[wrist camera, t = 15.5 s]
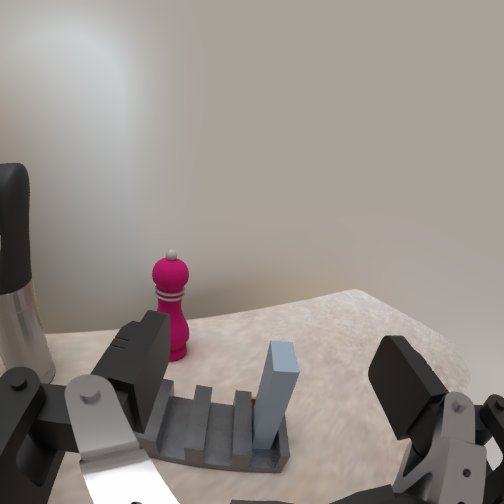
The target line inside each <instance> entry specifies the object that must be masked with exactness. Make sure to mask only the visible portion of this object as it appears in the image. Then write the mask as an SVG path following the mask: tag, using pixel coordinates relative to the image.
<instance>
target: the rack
mask: <svg viewBox="0 0 504 504" xmlns="http://www.w3.org/2000/svg"><path fill="white" fill-rule="evenodd" d="M211 395H212V387H206V386H200V385H197V386H196V390H195V395H194V400H191V399H186V398H180V397H175V396H174V381H171V380H166V379H163V380H162V383H161V385H160V388H159V391H158V394H157V397H156V400H155V403H154V406H153V409H152V412H151V415H150V418H149V421H148V424H147V427H146V430H145V433H144V434H142V433H138V432H135V431H134V432H133V433H134V435H135V437H136V439H137V441H138V443H139V445H140V446H141V447H143V448H144V450H145V451H146V453H147V455H148V456H149V457H151V458H155V459H159V460H164V461H168V462H173V463H178V464H184V465H189V466H195V467H202V468H209V469H218V470H227V471H239V472H259V473H281V471H282V469H283V468H284V466H285V464H286V463H287V461H288V459H289V457H290V452H289V444H288V436H287V428H286V420H285V414H284V416H283V419H282V421H281V424H280V426H279V429H278V431H277V434H276V436H275V438H274V441H273V443H272V445H271V448H270V449H252V414H253V410H254V406H255V402H256V398H257V397H251V392H247V391H237V390H236V392H235V397H234V403H233V405H226V404H218V403H211Z"/></svg>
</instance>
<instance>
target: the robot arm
mask: <svg viewBox="0 0 504 504" xmlns="http://www.w3.org/2000/svg"><path fill="white" fill-rule="evenodd" d="M29 190H30V186H29V176H28V172H27V170H26V168H25V166H24V165H23V164H20V163H6V164H0V235H1V250H0V355H1V358H2V360H3V362H4V365H5V367H6V369H7V371H6V372H5V373H4V374H3V375H2V377H1V378H0V504H47V502H48V499H49V496H50V493H51V490H52V487H53V484H54V481H55V478H56V476H57V473H58V470H59V468H60V465H61V462H62V460H63V457H64V455H65V452H66V451H68V452H76V453H80V455H81V460H80V462H79V463H80V468H81V471H82V474H83V477H84V479H85V482H86V484H87V487H88V489H89V492H90V494H91V496H92V499H93V501H94V503H95V504H179V503H178V502H177V501H176V499H175V498H174V496H173V495H172V493H171V492H170V490H169V489H168V487H167V486H166V484H165V483H164V481H163V480H162V478H161V476H160V475H159V473H158V471H157V470H156V468H155V466H154V465H153V463H152V461H151V460H150V458H149V456H148V455H147V453H146V451H145V450H144V448H143V447H141V446H140V445H139V443H138V441H137V439H136V437H135V435H134V433H133V432H134V431H135V432H138V433H142V434H144V433H145V430H146V427H147V424H148V421H149V418H150V415H151V412H152V409H153V406H154V403H155V400H156V397H157V394H158V391H159V388H160V385H161V383H162V380H163V377H164V374H165V371H166V369H167V366H168V362H169V357H170V315H169V314H168V313H162V312H157V311H152V310H148V311H147V312H146V314H145V316H144V317H143V319H142V320H141V322H135V321H132V322H130V323H128V324H127V325H125V326H123V327H122V328H121V329H120V331H119V332H118V333H117V335H116V336H115V339H113V341H112V342H111V344H110V346H109V347H108V348H107V350H106V351H105V353H104V354H103V356H102V357H101V359H100V360H99V362H98V363H97V365H96V366H95V368H94V369H93V371H92V372H91V374H90V375H82V376H79V377H76V378H74V379H73V380H71V381H70V382H69V383H68V385H67V386H61V385H52V384H49V383H50V381H51V380H52V379H53V377H54V374H55V367H54V364H53V361H52V358H51V355H50V352H49V348H48V345H47V341H46V338H45V334H44V331H43V327H42V323H41V319H40V315H39V310H38V306H37V302H36V296H35V291H34V286H33V280H32V273H31V264H30V240H29V200H30V198H29V197H30V191H29ZM368 377H369V381H370V383H371V385H372V387H373V389H374V391H375V393H376V395H377V397H378V399H379V401H380V403H381V406H382V408H383V410H384V412H385V414H386V416H387V418H388V420H389V423H390V425H391V427H392V429H393V431H394V433H395V436H396V438H397V440H402V439H407V438H410V439H411V441H410V442H409V444H408V445H407V447H406V450H405V454H404V457H403V460H402V463H401V466H400V469H399V472H398V474H397V477H396V480H395V482H394V484H393V486H392V487H391V484H389V485H386V486H382V487H378V488H374V489H369V490H365V491H360V492H357V493H354V494H352V495H350V496H348V497H345V498H343V499H340V500H338V501H335V502H333V503H330V504H504V398H503V397H501V396H499V395H495V394H493V395H490V396H489V397H488V399H487V400H486V401H485V403H484V404H483V405H474V404H473V402H472V401H471V400H470V399H469V398H468V397H467V396H466V395H464V394H462V393H459V392H450V393H449V392H448V390H447V389H446V387H445V386H444V385H443V383H442V382H441V381H440V379H439V378H438V377H437V375H436V374H435V373H434V371H432V369H431V367H430V366H429V365H428V364H427V362H426V361H425V359H424V358H423V357H422V356H421V354H419V353H418V352H417V351H415V350H414V349H413V348H412V346H411V345H410V344H409V342H408V341H407V340H406V339H405V337H403V336H385V337H383V339H382V340H381V342H380V345H379V347H378V349H377V351H376V354H375V356H374V358H373V360H372V362H371V364H370V367H369V371H368ZM492 436H493V437H494V439H495V441H496V443H497V444H498V446H499V448H500V450H501V451H502V454H503V460H502V462H501V464H500V465H499V466H498V467H497V468H496V469H495V470H494V471H493V470H492V469H491V467H490V465H489V463H488V461H487V459H486V453H487V452H486V448H485V446H484V445H485V444H486V443H487V442H488V441H489V440H490V438H491V437H492ZM230 504H292V503H286V502H280V501H245V500H232V501H231V503H230Z"/></svg>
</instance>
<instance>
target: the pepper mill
mask: <svg viewBox="0 0 504 504" xmlns="http://www.w3.org/2000/svg"><path fill="white" fill-rule="evenodd" d="M176 257H177V253H176V251H174V250H172V249H171V250H168V251H167V253H166V258H163V259H161V260H159V261H158V262H157V263H156V264H155V266H154V268H153V271H152V272H153V273H152V277H153V281H154V282H155V284H156V286H155V290H156V291H155V295H156V297H157V298H158V309H157V312H162V313H168V314H169V315H170V357H169V361H176V360H179V359H181V358H183V357H184V356H185V354H186V342H187V340H188V338H189V328H188V324H187V322H186V320H185V318H184V316H183V313H182V310H181V300H182V298H183V297H184V295H185V293H184V291H185V287H184V285H185V284H186V283H187V281H188V277H189V271H188V268H187V266H186V264H185V263H184V262H183V261H181V260H179V259H177V258H176Z"/></svg>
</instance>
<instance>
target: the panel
mask: <svg viewBox="0 0 504 504" xmlns="http://www.w3.org/2000/svg"><path fill="white" fill-rule="evenodd" d="M299 373H300V372H299V368H298V364H297V359H296V355H295V350H294V346H293V343H289V342H278V341H270V345H269V349H268V354H267V358H266V362H265V366H264V370H263V374H262V378H261V382H260V386H259V390H258V394H257V398H256V402H255V406H254V410H253V414H252V449H270V448H271V445H272V443H273V441H274V438H275V436H276V434H277V431H278V429H279V426H280V424H281V421H282V419H283V416H284V414H285V411H286V408H287V406H288V403H289V400H290V398H291V395H292V392H293V390H294V387H295V384H296V381H297V378H298V375H299Z"/></svg>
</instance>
